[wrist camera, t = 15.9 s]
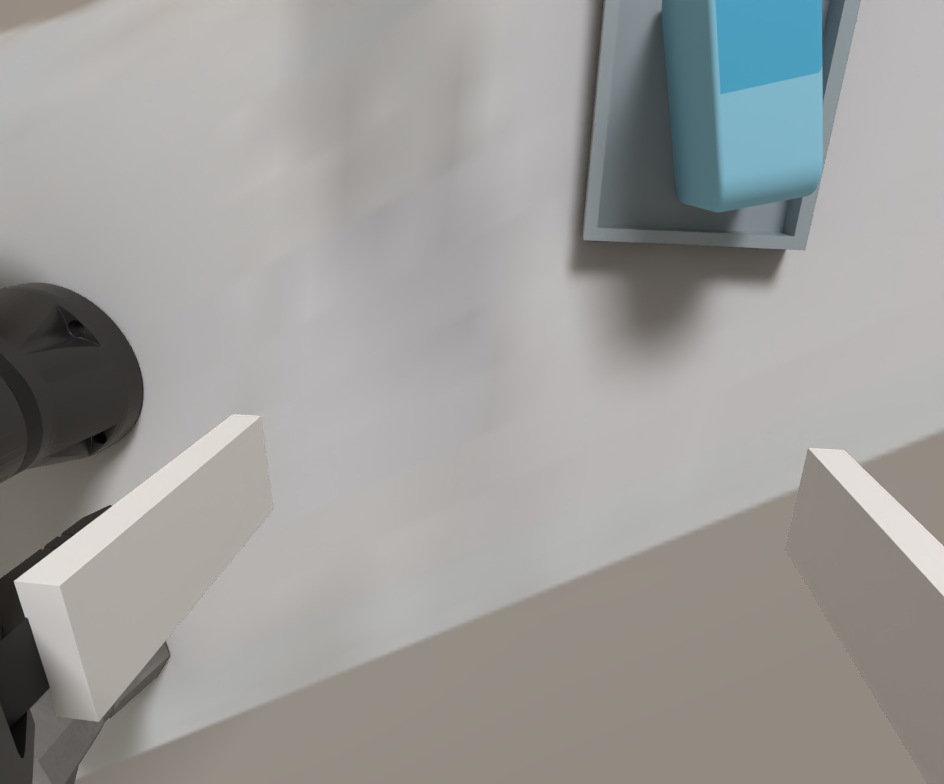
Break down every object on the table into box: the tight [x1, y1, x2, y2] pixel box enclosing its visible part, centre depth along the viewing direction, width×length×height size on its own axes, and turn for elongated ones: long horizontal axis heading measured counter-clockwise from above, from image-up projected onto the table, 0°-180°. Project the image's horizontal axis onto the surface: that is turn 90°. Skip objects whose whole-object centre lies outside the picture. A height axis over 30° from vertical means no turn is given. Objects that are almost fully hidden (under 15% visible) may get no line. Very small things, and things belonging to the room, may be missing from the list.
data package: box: [662, 0, 823, 212], centre depth 31 cm, size 12×4×12 cm, turn 11°
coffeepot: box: [30, 641, 170, 784], centre depth 53 cm, size 15×9×18 cm, turn 35°
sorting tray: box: [582, 0, 861, 250], centre depth 36 cm, size 14×18×3 cm
